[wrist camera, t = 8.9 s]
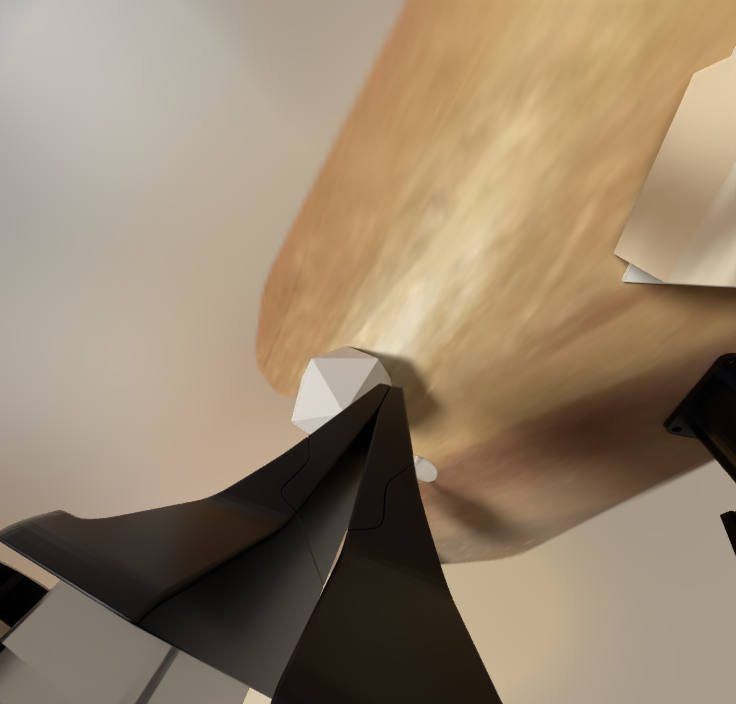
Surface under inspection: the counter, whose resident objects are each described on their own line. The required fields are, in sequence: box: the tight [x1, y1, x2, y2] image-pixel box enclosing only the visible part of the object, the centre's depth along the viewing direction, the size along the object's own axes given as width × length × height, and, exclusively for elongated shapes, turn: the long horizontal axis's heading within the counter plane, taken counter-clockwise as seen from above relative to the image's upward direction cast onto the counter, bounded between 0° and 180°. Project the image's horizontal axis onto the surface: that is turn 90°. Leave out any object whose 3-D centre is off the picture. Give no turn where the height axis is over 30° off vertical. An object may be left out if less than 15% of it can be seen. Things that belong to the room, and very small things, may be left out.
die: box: [291, 346, 392, 434], centre depth 22 cm, size 8×9×10 cm
